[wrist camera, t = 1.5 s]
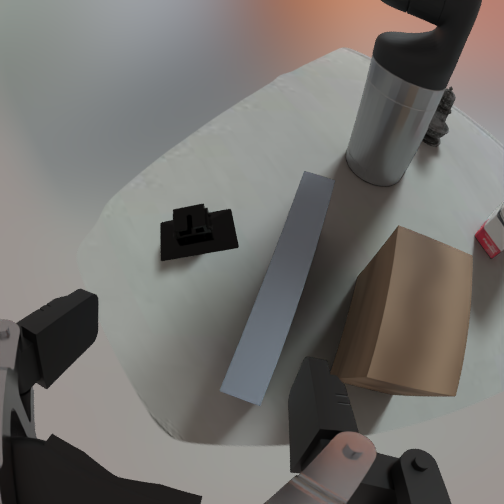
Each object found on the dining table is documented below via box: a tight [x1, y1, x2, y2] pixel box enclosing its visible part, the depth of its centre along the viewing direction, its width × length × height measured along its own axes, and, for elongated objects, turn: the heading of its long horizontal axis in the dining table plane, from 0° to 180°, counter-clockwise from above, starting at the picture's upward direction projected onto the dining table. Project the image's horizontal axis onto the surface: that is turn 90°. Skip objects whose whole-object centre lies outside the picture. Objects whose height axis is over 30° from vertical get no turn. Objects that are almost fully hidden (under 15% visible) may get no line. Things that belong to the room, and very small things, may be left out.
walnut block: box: [330, 225, 473, 396], centre depth 23 cm, size 8×12×12 cm, turn 159°
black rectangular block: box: [161, 204, 239, 261], centre depth 33 cm, size 12×7×5 cm, turn 100°
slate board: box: [220, 171, 335, 406], centre depth 26 cm, size 3×20×10 cm, turn 159°
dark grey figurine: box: [422, 87, 455, 146], centre depth 37 cm, size 6×6×12 cm
